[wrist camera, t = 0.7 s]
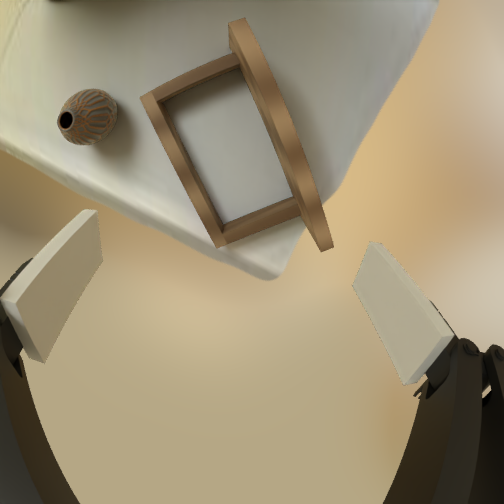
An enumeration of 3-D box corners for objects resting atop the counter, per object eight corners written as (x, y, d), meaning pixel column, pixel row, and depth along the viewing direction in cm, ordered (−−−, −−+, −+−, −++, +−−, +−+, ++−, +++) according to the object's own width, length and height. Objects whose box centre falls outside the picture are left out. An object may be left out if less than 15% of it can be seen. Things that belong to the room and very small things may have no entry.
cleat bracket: (142, 88, 27) (109, 83, 18) (241, 43, 25) (244, 17, 17) (222, 246, 38) (219, 290, 30) (310, 211, 37) (334, 247, 28)
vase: (102, 150, 30) (68, 165, 23) (71, 120, 27) (33, 128, 20) (134, 110, 28) (105, 112, 21) (101, 79, 26) (66, 76, 18)
